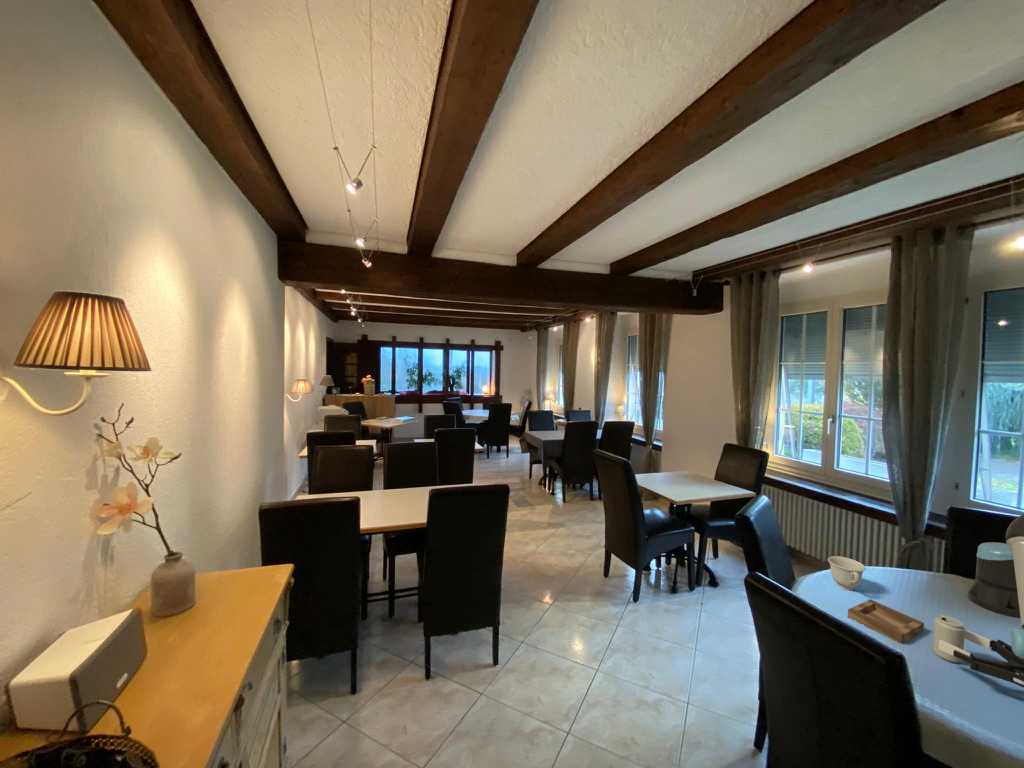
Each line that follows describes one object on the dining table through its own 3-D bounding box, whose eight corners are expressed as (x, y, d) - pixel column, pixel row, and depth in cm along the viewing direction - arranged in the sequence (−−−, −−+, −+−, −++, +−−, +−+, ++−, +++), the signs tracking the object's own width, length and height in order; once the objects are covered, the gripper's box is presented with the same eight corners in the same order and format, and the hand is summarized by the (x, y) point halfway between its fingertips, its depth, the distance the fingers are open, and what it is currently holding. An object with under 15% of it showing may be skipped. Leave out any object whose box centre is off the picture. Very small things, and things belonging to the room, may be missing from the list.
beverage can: (930, 646, 130) (933, 611, 129) (960, 655, 125) (962, 619, 125) (934, 657, 125) (936, 621, 124) (965, 667, 121) (967, 629, 120)
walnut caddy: (869, 606, 150) (870, 599, 150) (923, 631, 137) (924, 622, 137) (847, 617, 144) (848, 609, 144) (901, 644, 131) (901, 635, 130)
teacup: (838, 596, 157) (839, 571, 157) (821, 576, 172) (822, 554, 171) (875, 601, 154) (876, 576, 153) (855, 581, 168) (856, 558, 167)
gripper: (1046, 720, 100) (930, 661, 119) (1077, 686, 110) (966, 637, 129) (1048, 691, 99) (931, 637, 118) (1079, 660, 110) (967, 615, 129)
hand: (949, 637), depth 124 cm, fingers open, 13 cm apart
